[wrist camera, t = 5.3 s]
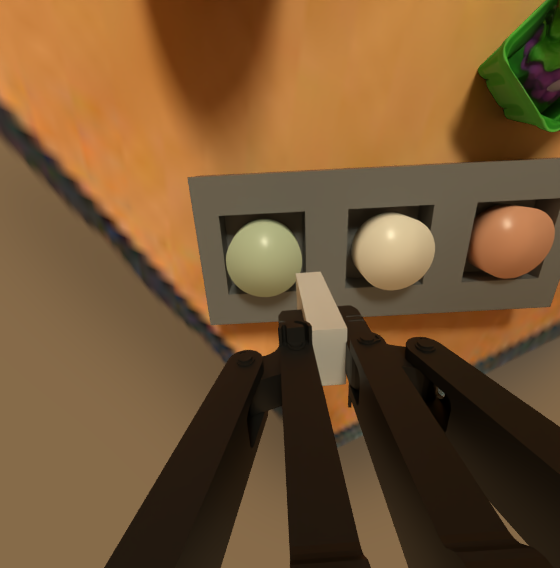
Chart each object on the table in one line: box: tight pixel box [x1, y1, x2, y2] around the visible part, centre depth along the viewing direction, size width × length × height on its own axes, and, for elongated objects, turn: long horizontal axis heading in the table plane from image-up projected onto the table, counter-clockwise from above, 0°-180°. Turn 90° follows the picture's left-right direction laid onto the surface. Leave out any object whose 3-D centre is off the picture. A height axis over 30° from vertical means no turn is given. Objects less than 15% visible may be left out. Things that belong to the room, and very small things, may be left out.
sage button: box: [226, 219, 302, 297], centre depth 24 cm, size 6×6×2 cm
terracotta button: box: [466, 204, 555, 279], centre depth 25 cm, size 6×6×2 cm
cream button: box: [351, 212, 435, 290], centre depth 24 cm, size 6×6×2 cm
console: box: [188, 158, 560, 325], centre depth 27 cm, size 13×32×4 cm, turn 93°
